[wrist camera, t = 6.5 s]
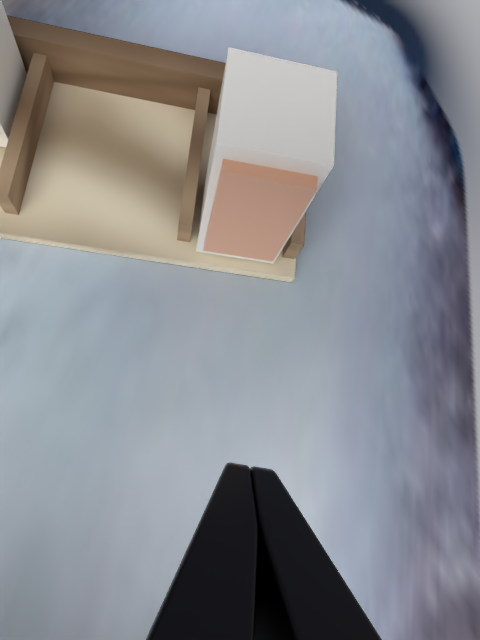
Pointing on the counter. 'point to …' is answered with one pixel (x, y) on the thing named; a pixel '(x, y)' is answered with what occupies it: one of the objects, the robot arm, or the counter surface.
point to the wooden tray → (116, 151)
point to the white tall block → (266, 154)
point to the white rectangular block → (9, 77)
